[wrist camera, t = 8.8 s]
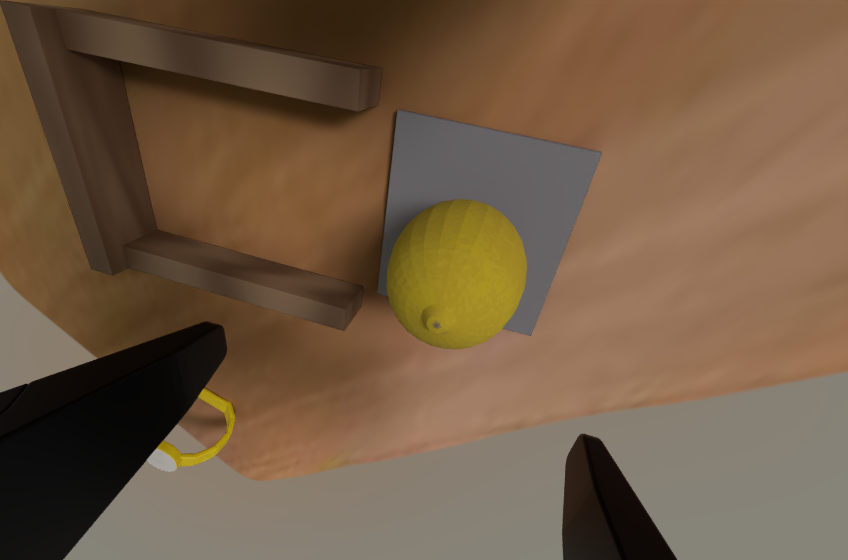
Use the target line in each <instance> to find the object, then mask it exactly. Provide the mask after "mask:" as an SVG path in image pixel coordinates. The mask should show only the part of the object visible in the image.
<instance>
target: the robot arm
mask: <svg viewBox="0 0 848 560" xmlns="http://www.w3.org/2000/svg"><path fill="white" fill-rule="evenodd" d="M226 353H227V345H226V338H225V332H224V328H223V327H222V326H221V325H219V324H216V323H212V322H202V323H199V324H197V325H194V326H191V327H188V328H185V329H182V330H179V331H176V332H174V333H171V334H168V335H165V336H162V337H159V338H156V339H153V340H151V341H148V342H145V343H142V344H139V345H136V346H133V347H130V348H128V349H125V350H122V351H119V352H116V353H113V354H110V355H107V356H104V357H102V358H99V359H96V360H93V361H90V362H87V363H84V364H82V365H79V366H76V367H73V368H70V369H67V370H65V371H61V372H58V373H56V374H53V375H50V376H47V377H44V378H41V379H38V380H35V381H33V382H31V383H29V384H24V385H21V386H18V387H15V388H12V389H9V390H6V391H4V392H1V393H0V560H63V559H64V558H65V557H66V556H67V555H68V553H69V552H70V551H71V550H72V548H73V547H74V546H75V545H76V544H77V543H78V541H79V540H80V539H81V538H82V537H83V535H84V534H85V533H86V532H87V531H88V529H89V528H90V527H91V526H92V525H93V523H94V522H95V521H96V520H97V519H98V517H99V516H100V515H101V514H102V513H103V511H104V510H105V509H106V508H107V507H108V506H109V504H110V503H111V502H112V501H113V500H114V498H115V497H116V496H117V495H118V494H119V492H120V491H121V490H122V489H123V488H124V486H125V485H126V484H127V483H128V482H129V481H130V479H131V478H132V477H133V476H134V475H135V473H136V472H137V471H138V470H139V469H140V468H141V466H142V465H143V464H144V463H145V462H146V460H147V459H148V458H149V457H150V456H151V454H152V453H153V452H154V451H155V450H156V448H157V447H158V446H159V445H160V444H161V442H162V441H163V440H164V439H165V437H167V435H168V434H169V433H170V432H171V431H172V429H173V428H174V427H175V426H176V425H177V423H178V422H179V421H180V420H181V419H182V417H183V416H184V415H185V414H186V412H187V411H188V410H189V409H190V407H191V406H192V405H193V403H194V402H195V401H196V399H197V398H198V396H199V395H200V393H201V392H202V390H203V389H204V387H205V386H206V384H207V383H208V382H209V380H210V379H211V377H212V376H213V374H214V373H215V371H216V370H217V368H218V367H219V366H220V364H221V363H222V361H223V360H224V358H225V356H226ZM565 469H566V470H565V487H564V505H563V525H562V527H563V528H562V540H563V560H677V558H676V557H675V555H674V554H673V552H672V551H671V549H670V547H669V546H668V544H667V543H666V541H665V540H664V538H663V537H662V535H661V533H660V532H659V530H658V529H657V527H656V525H655V524H654V522H653V521H652V519H651V517H650V516H649V514H648V513H647V511H646V510H645V508H644V506H643V505H642V503H641V502H640V500H639V499H638V497H637V496H636V494H635V492H634V491H633V489H632V488H631V486H630V485H629V483H628V481H627V480H626V478H625V477H624V475H623V474H622V472H621V471H620V469H619V467H618V466H617V464H616V463H615V461H614V459H613V458H612V456H611V455H610V453H609V452H608V450H607V449H606V447H605V445H604V444H603V442H602V441H601V440H600V439H599V438H596V437H593V436H590V435H587V434H580V435H579V436H578V438H577V440H576V441H575V443H574V445H573V447H572V448H571V450H570V452H569V454H568V456H567V460H566V468H565Z"/></svg>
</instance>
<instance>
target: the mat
mask: <svg viewBox="0 0 848 560" xmlns="http://www.w3.org/2000/svg"><path fill="white" fill-rule="evenodd" d="M601 155H602V153H601V152H599V151H594V150H590V149H585V148H580V147H575V146H571V145H566V144H561V143H556V142H552V141H547V140H542V139H537V138H533V137H528V136H523V135H518V134H514V133H509V132H504V131H499V130H495V129H490V128H485V127H480V126H476V125H471V124H466V123H461V122H457V121H452V120H447V119H442V118H438V117H433V116H428V115H423V114H419V113H414V112H409V111H404V110H400V109H399V110H397V119H396V128H395V137H394V146H393V155H392V164H391V173H390V182H389V191H388V200H387V209H386V218H385V227H384V236H383V245H382V254H381V263H380V272H379V281H378V290H377V294H381V295H384V296H388V293H387V269H388V264H389V261H390V257H391V254H392V251H393V247H394V245H395V242H396V241H397V239H398V238H399V236H400V235H401V233H402V232H403V230H404V228H405V227H406V225H407V224H408V223H409V222H410V221H411V220H413V219H414V218H415V217H416V216H417V215H418V214H420V213H421V212H422V211H423V210H425V209H427V208H429V207H431V206H433V205H435V204H437V203H440V202H443V201H449V200H454V199H467V200H475V201H479V202H482V203H485V204H488V205H490V206H491V207H493V208H495V209H496V210H498V211H499V212H501V213H502V214H503V215H504V216H505V217H506V218H507V219H508V220H509V221H510V222H511V223H512V224H513V226H514V227H515V229H516V231H517V233H518V234H519V236H520V238H521V240H522V242H523V246H524V251H525V255H526V260H527V273H526V284H525V288H524V291H523V294H522V297H521V299H520V302H519V305H518V307H517V309H516V311H515V313H514V314H513V315H512V317H511V318H510V319H509V321H508V322H507V323H506V325H505V326H504V327H503V329H507V330H511V331H514V332H518V333H521V334H525V335H529V336H531V335H532V332H533V329H534V327H535V324H536V322H537V319H538V317H539V314H540V311H541V309H542V306H543V304H544V301H545V299H546V296H547V293H548V291H549V288H550V286H551V283H552V281H553V278H554V275H555V273H556V270H557V268H558V265H559V263H560V260H561V257H562V255H563V252H564V250H565V247H566V245H567V242H568V239H569V237H570V234H571V232H572V229H573V227H574V224H575V221H576V219H577V216H578V214H579V211H580V209H581V206H582V203H583V201H584V198H585V196H586V193H587V191H588V188H589V185H590V183H591V180H592V178H593V175H594V173H595V170H596V167H597V165H598V162H599V160H600V157H601Z"/></svg>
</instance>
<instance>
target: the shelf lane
mask: <svg viewBox="0 0 848 560" xmlns="http://www.w3.org/2000/svg"><path fill="white" fill-rule="evenodd" d="M0 4H1V7H2V10H3V13H4V16H5V19H6V22H7V25H8V28H9V30H10V33H11V36H12V39H13V42H14V45H15V48H16V51H17V54H18V57H19V60H20V63H21V66H22V68H23V71H24V74H25V77H26V80H27V83H28V86H29V89H30V92H31V95H32V98H33V101H34V104H35V107H36V109H37V112H38V115H39V118H40V121H41V124H42V127H43V130H44V133H45V136H46V139H47V142H48V145H49V147H50V150H51V153H52V156H53V159H54V162H55V165H56V168H57V171H58V174H59V177H60V180H61V183H62V186H63V188H64V191H65V194H66V197H67V200H68V203H69V206H70V209H71V212H72V215H73V218H74V221H75V224H76V226H77V229H78V232H79V235H80V238H81V241H82V244H83V247H84V250H85V253H86V256H87V259H88V262H89V264H90V267H91V269H93V270H96V271H99V272H103V273H106V274H109V275H115V274H117V273H119V272H121V271H123V270H125V269H126V268H131V269H134V270H138V271H141V272H144V273H148V274H151V275H155V276H158V277H161V278H165V279H168V280H172V281H175V282H178V283H182V284H185V285H189V286H192V287H196V288H199V289H202V290H206V291H209V292H213V293H216V294H219V295H223V296H226V297H230V298H233V299H236V300H240V301H243V302H247V303H250V304H254V305H257V306H260V307H264V308H267V309H271V310H274V311H277V312H281V313H284V314H288V315H291V316H294V317H298V318H301V319H305V320H308V321H311V322H315V323H318V324H322V325H325V326H329V327H332V328H335V329H339V330H342V331H345V329H346V328H347V326H348V325H349V324H350V322H351V321H352V319H353V318H354V316H355V315H356V314H357V312H358V311H359V309H360V308H361V303H362V291H363V286H359V285H355V284H352V283H348V282H345V281H341V280H337V279H334V278H330V277H326V276H323V275H319V274H316V273H312V272H308V271H305V270H301V269H297V268H294V267H290V266H287V265H283V264H279V263H276V262H272V261H268V260H265V259H261V258H258V257H254V256H250V255H247V254H243V253H239V252H236V251H232V250H229V249H225V248H221V247H218V246H214V245H210V244H207V243H203V242H199V241H196V240H192V239H189V238H185V237H181V236H178V235H174V234H170V233H167V232H163V231H160V230H157V228H156V224H155V219H154V215H153V210H152V206H151V201H150V197H149V192H148V188H147V184H146V179H145V175H144V170H143V166H142V161H141V157H140V152H139V148H138V143H137V139H136V135H135V130H134V126H133V121H132V117H131V112H130V108H129V103H128V99H127V95H126V90H125V86H124V81H123V77H122V72H121V68H120V63H119V60H120V61H124V62H129V63H134V64H138V65H143V66H148V67H152V68H157V69H162V70H166V71H171V72H176V73H180V74H185V75H190V76H194V77H199V78H204V79H208V80H213V81H218V82H222V83H227V84H232V85H236V86H241V87H246V88H250V89H255V90H260V91H264V92H269V93H274V94H278V95H283V96H288V97H292V98H297V99H302V100H306V101H311V102H316V103H320V104H325V105H330V106H334V107H339V108H344V109H348V110H353V111H361V110H364V109H368V108H371V107H374V106H377V105H379V96H380V84H381V73H382V68H378V67H373V66H368V65H363V64H358V63H353V62H348V61H342V60H337V59H332V58H327V57H322V56H317V55H312V54H307V53H302V52H297V51H292V50H287V49H282V48H277V47H272V46H267V45H261V44H256V43H251V42H246V41H241V40H236V39H231V38H226V37H221V36H216V35H211V34H206V33H201V32H196V31H191V30H186V29H180V28H175V27H170V26H165V25H160V24H155V23H150V22H145V21H140V20H135V19H130V18H125V17H120V16H115V15H110V14H105V13H99V12H94V11H89V10H84V9H77V8H67V7H58V6H48V5H39V4H29V3H20V2H10V1H1V0H0Z"/></svg>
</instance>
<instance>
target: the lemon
mask: <svg viewBox="0 0 848 560" xmlns="http://www.w3.org/2000/svg"><path fill="white" fill-rule="evenodd" d="M526 273H527V260H526V255H525V251H524V246H523V242H522V240H521V238H520V236H519V234H518V233H517V231H516V229H515V227H514V226H513V224H512V223H511V222H510V221H509V220H508V219H507V218H506V217H505V216H504V215H503V214H502V213H501V212H499V211H498V210H496V209H495V208H493V207H491V206H490V205H488V204H485V203H482V202H479V201H475V200H467V199H454V200H449V201H443V202H440V203H437V204H435V205H433V206H431V207H429V208H427V209H425V210H423V211H422V212H421V213H420V214H418V215H417V216H416V217H415V218H414V219H413V220H411V221H410V222H409V223H408V224H407V225H406V227H405V228H404V230H403V232H402V233H401V235H400V236H399V238H398V239H397V241H396V242H395V245H394V247H393V251H392V254H391V257H390V261H389V264H388V269H387V293H388V297H389V301H390V305H391V307H392V310H393V311H394V313H395V315H396V317H397V319H398V321H399V322H400V323H401V324H402V325H403V326H404V328H405V329H406V330H407V331H408V332H409V333H411V334H412V335H413V336H415V337H416V338H417V339H419V340H421V341H423V342H425V343H427V344H429V345H432V346H436V347H439V348H444V349H463V348H469V347H473V346H475V345H478V344H480V343H482V342H485V341H487V340H488V339H490V338H491V337H493V336H494V335H495V334H497V333H498V332H499V331H500V330H502V328H503V327H504V326H505V325H506V323H507V322H508V321H509V319H510V318H511V317H512V315H513V314H514V313H515V311H516V309H517V307H518V305H519V302H520V299H521V297H522V294H523V291H524V288H525V284H526Z"/></svg>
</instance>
